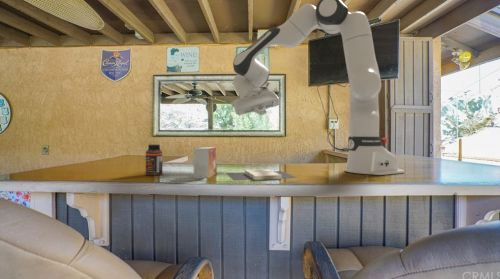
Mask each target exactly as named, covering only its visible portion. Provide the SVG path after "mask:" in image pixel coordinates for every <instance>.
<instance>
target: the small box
mask: <svg viewBox="0 0 500 279" xmlns="http://www.w3.org/2000/svg"><path fill="white" fill-rule="evenodd" d="M216 174H217V147H213V146H212V147H211V146H210V147H209V146H208V147H207V146H205V147H204V146H203V147H197V148H193V178H194V179H197V180H199V179H201V180H204V179H205V178H208V179H209V178H212V177H213V176H215V175H216Z"/></svg>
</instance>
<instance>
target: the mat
mask: <svg viewBox="0 0 500 279" xmlns="http://www.w3.org/2000/svg"><path fill="white" fill-rule="evenodd" d="M272 171H273V170H272ZM273 172H276V173H278V174H280V175H282V179H297V178H298V177H297V176H294V175H292V174H290V173H287V172H285V171H282V170H277V171H273ZM225 173H226V175H227V176H228V177H230V178H231V179H232V180H233V181H250V180H251V181H252V180H253V181H255V180H254V179H252V178H251V177H249V176H247V175H246V174H245V171H243V172H225Z"/></svg>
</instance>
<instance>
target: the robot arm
mask: <svg viewBox="0 0 500 279" xmlns="http://www.w3.org/2000/svg"><path fill="white" fill-rule="evenodd" d="M316 29H317V30H318V31H319V32H321V33H324V34H325V35H328V36H338V35H340V34H341V39H342V40H341V41H342V46H343V53H344V59H345V65H346V72H347V76H348V82H349V136H348V139H347V148H348V155H347V161H346V165H345V168H344V171H345V172H348V173H354V174H363V175H374V176H382V175H394V174H395V175H396V174H405V170H404V169H401V168H399V166H398V165H399V163H398V159H397V156H395V154H393V153H392V152H391V151H389V150H388V149H387V148H385V146H384V144H388V142H389V139H388V138H387V137H382V138H381V137H380V108H379V94H380V92H381V89H382V80H381V74H380V70H379V65H378V62H377V58H376V53H375V46H374V41H373V34H372V28H371V25H370V21H369V19H368V16H367V14H366V13H364V12H362V11H354V12H353V11H352V12H350V11H349V8H348V7H347V6H346V5H345V3H344V2H343V1H342V0H319V1H318V2H317V4H316V6H315V5H313V4H311V3H305V4H303V5H302V6H300V8H298V9H297V10H296V11H294V13H292V15H291V16H289V18H287V20H286V21H285V22H284V23H282V24H280V25H279V26H273V27H271V28H269V29H268V30H266V31H265V32H264V33H263V34H262V35H261V36H259V37H258V38H257V39H256V40H255V41H254V42H253V43H251V45H249V46H248V47H247V48H246V49H244V50H243V51H241V52H240V53H238V54H237V55H236V56H235V57H234V59H233V61H232V62H233V63H232V65H233V66H232V67H233V71H234V72H235V73H236V75H235V76H234V78H233V83H232V84H233V88H234V90H235V91H236V93H237V95H238V96H239V98H236V99H233V100H232V101H231V102H230V105H231V106H232V107H233V109H234V113H235V114H236V115H237V116H241V115H245V114H250V113H255V114H258V115H259V116H262V115H267V109H270V108H273V107H278V106H279V104H280V98H279V96H278V94H276V93H275V92H274V91H272V90H270V87H269V86H265V85H266V84H267V82H268V80H269V78H270V71H269V68H268V67H267V66H265V65H264V64H263V63H262V62H260V61H259V60H258V59H256V58H257V57H258V56H259V55H260V54H261V53H263V52H264V51H265V50H266V49H267V48H269V47H271V46H275V45H276V46H280V47H281V46H282V47H284V48H290V49H291V48H296V47H298V46H299V45H301V44H302V42H304V41H305V40H306V38H307V37H308V36H309V35H310V33H311V34H312V32H313V31H314V30H316Z"/></svg>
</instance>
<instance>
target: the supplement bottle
mask: <svg viewBox="0 0 500 279" xmlns="http://www.w3.org/2000/svg"><path fill="white" fill-rule="evenodd" d="M145 175H146V176H150V177H155V176H156V177H157V176H161V175H163V151H162V150H161V146H160V144H154V143H153V144H150V143H149V144H148V149H147V150H146V151H145Z"/></svg>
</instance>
